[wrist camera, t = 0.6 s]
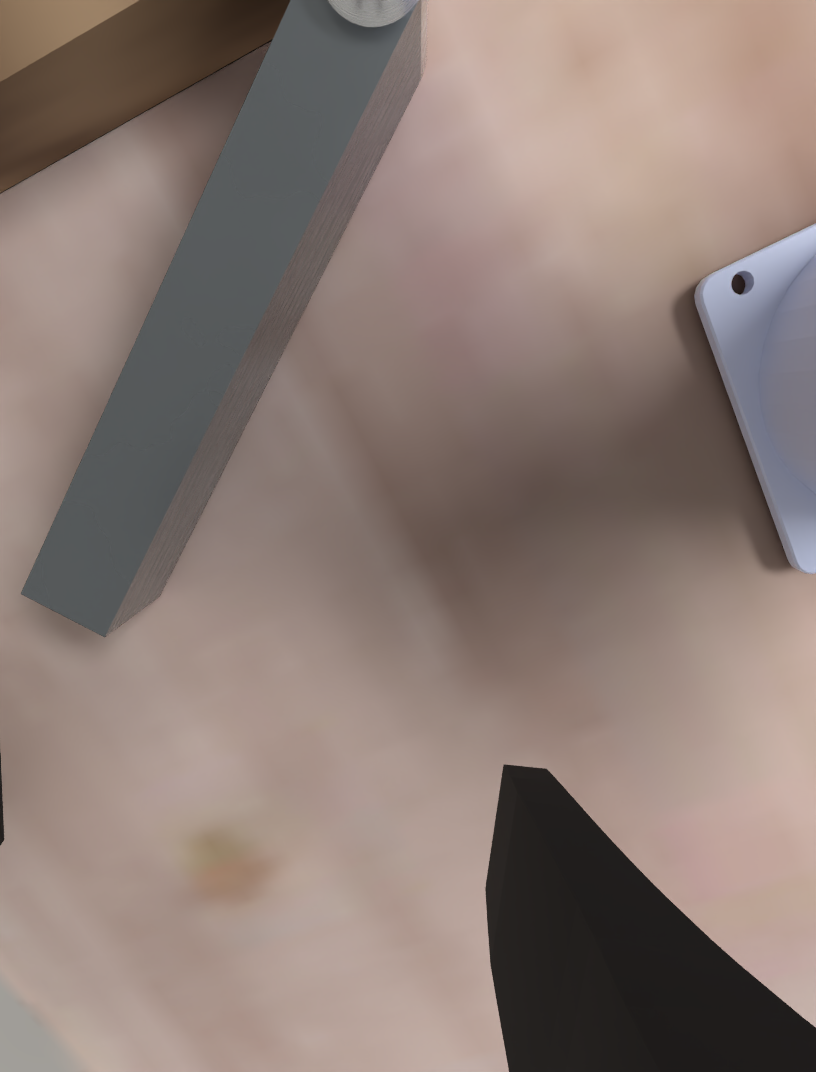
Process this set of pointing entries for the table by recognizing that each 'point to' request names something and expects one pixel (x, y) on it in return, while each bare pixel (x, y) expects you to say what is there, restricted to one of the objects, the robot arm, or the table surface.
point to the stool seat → (108, 65)
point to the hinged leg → (230, 300)
